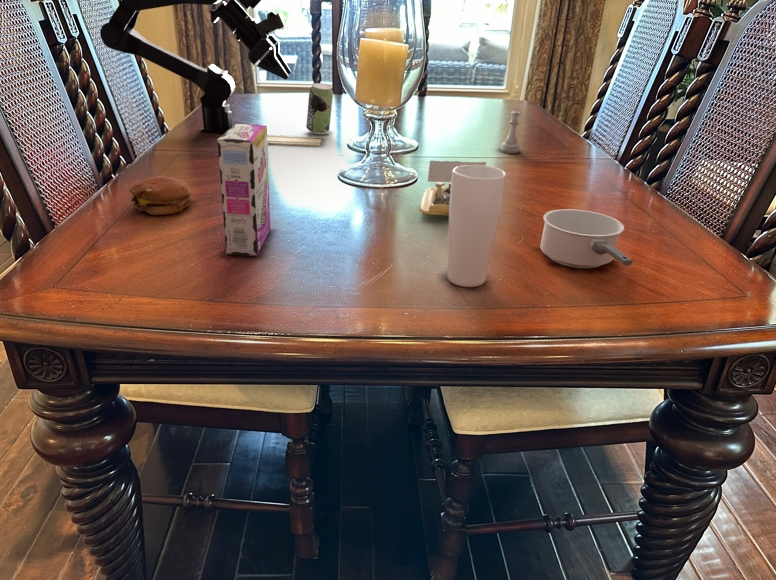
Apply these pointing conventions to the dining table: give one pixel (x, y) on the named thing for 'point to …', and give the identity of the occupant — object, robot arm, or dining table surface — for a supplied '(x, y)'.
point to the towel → (293, 140)
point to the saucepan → (582, 238)
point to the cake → (440, 187)
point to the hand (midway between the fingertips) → (288, 75)
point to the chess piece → (512, 135)
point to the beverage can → (319, 108)
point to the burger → (161, 195)
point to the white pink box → (244, 188)
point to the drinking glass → (473, 221)
